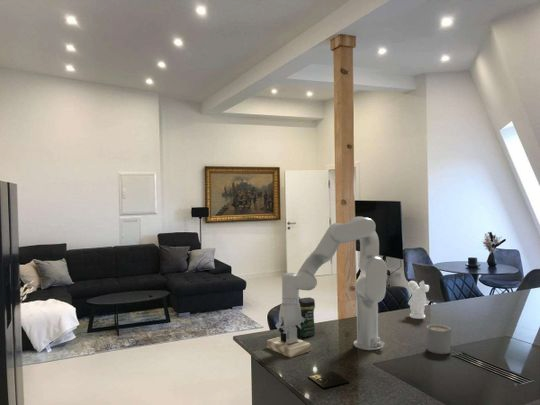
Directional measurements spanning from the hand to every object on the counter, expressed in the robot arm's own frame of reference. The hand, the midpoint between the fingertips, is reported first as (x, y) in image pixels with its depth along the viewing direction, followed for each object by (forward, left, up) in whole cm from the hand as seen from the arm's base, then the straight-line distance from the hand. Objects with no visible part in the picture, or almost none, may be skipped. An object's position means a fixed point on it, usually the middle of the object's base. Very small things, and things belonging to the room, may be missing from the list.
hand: (290, 339), depth 192 cm
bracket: (+1, 0, -5) cm, 5 cm away
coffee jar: (+12, -20, -5) cm, 24 cm away
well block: (+2, 0, -5) cm, 5 cm away
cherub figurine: (-7, -93, -5) cm, 93 cm away
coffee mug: (-42, -53, -5) cm, 68 cm away
